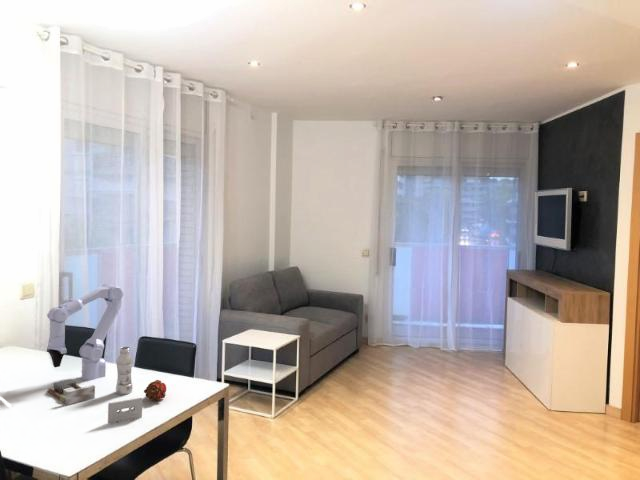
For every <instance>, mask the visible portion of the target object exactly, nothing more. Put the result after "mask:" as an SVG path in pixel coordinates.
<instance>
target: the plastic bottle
mask: <svg viewBox="0 0 640 480" xmlns="http://www.w3.org/2000/svg"><path fill="white" fill-rule="evenodd" d="M119 349H120V350H119V356H117V358H116V371H117V379H116V386H115V392H116V394H117V396H118V395H119V396H125V395H128V394H130V393H132V392H133V382H132V367H133V361H134V360H133V357H132V355H131V354H130V347H129V346H123V347H120V348H119Z"/></svg>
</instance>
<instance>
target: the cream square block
mask: <svg viewBox="0 0 640 480" xmlns="http://www.w3.org/2000/svg"><path fill="white" fill-rule="evenodd" d="M74 389H75V388H73V387H71V388H67V389H63V394H64V395H65V392H66V391H70V390H74Z"/></svg>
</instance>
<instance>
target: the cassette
mask: <svg viewBox="0 0 640 480" xmlns="http://www.w3.org/2000/svg"><path fill="white" fill-rule="evenodd" d="M124 409H127V410H124ZM142 417H143V398H142V397H135V398H130V399H125V400H119V401H112V402H108V404H107V423H108V425H111V424H119V423H122V422H123V423H125V422H128V421H129V422H130V421H133V420H139V419H142Z"/></svg>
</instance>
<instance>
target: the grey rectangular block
mask: <svg viewBox="0 0 640 480" xmlns="http://www.w3.org/2000/svg"><path fill="white" fill-rule="evenodd" d="M76 385H77V382H76V381H75V380H73V379H72V378H70V379H65V380H60V381H57V382H53V390H54V391H55V392H57V393H58V394H63V389H67V388H71V387H73V388H75V389H76Z"/></svg>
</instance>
